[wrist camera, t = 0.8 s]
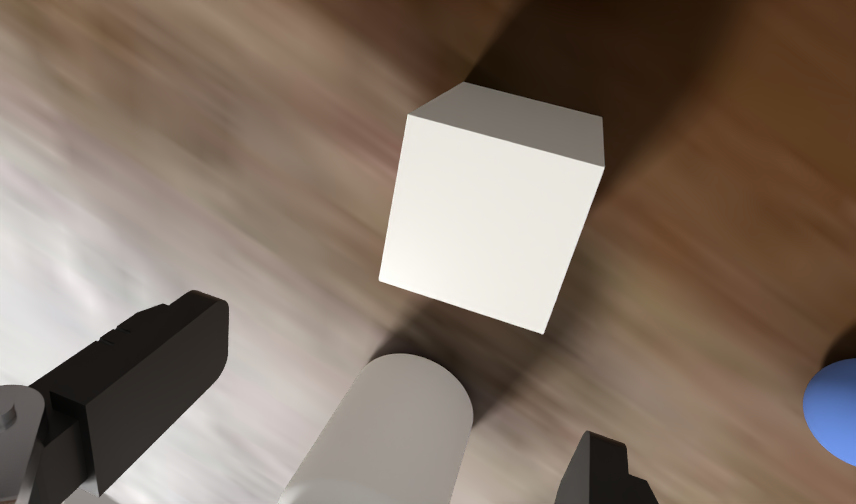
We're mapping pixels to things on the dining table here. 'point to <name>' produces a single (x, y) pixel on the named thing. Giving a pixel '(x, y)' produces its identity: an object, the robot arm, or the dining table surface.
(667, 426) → the dining table surface
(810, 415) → the ball
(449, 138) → the white matte cube
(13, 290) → the dining table surface
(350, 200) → the dining table surface
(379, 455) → the beverage can
